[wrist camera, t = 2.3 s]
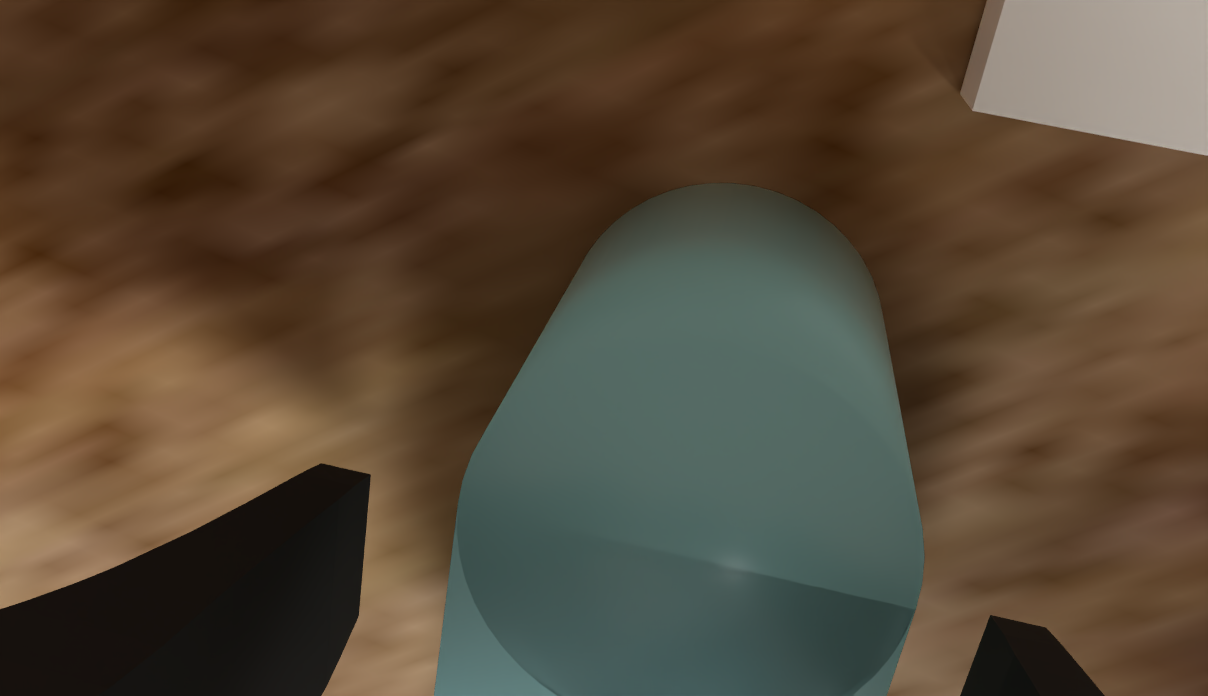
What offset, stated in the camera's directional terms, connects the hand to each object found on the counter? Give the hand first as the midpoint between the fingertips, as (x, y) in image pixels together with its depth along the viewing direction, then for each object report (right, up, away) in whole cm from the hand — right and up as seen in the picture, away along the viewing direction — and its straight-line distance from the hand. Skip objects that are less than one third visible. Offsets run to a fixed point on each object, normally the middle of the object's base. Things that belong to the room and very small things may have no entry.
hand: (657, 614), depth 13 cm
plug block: (0, 0, +3) cm, 3 cm away
